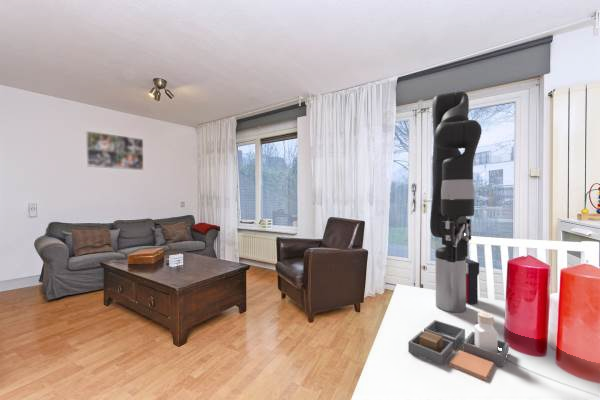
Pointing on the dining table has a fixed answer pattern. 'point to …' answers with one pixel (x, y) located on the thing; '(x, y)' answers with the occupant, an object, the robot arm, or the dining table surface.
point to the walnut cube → (431, 341)
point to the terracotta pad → (472, 364)
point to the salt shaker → (486, 333)
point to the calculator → (472, 281)
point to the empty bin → (447, 329)
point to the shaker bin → (485, 354)
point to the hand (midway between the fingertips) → (457, 259)
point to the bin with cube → (430, 354)
